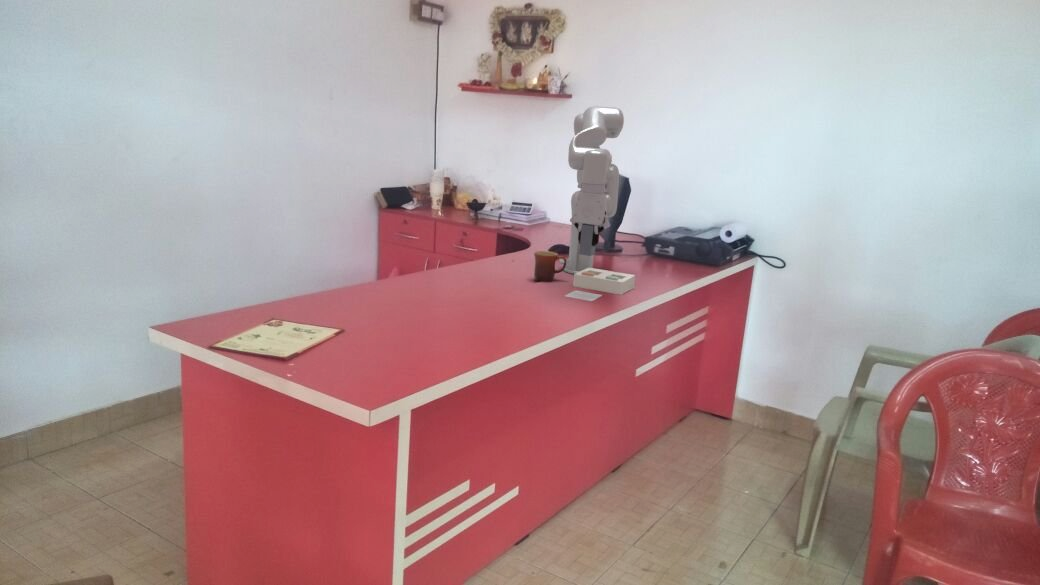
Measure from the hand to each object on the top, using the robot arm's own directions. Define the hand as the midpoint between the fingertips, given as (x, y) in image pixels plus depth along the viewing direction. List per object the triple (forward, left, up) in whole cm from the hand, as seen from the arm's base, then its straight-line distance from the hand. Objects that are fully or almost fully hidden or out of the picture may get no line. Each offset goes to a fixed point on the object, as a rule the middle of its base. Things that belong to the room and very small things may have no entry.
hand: (588, 243), depth 235 cm
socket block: (+1, +17, -18) cm, 25 cm away
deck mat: (0, 0, -18) cm, 18 cm away
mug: (-19, +13, -19) cm, 29 cm away
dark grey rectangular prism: (0, 0, -3) cm, 3 cm away
